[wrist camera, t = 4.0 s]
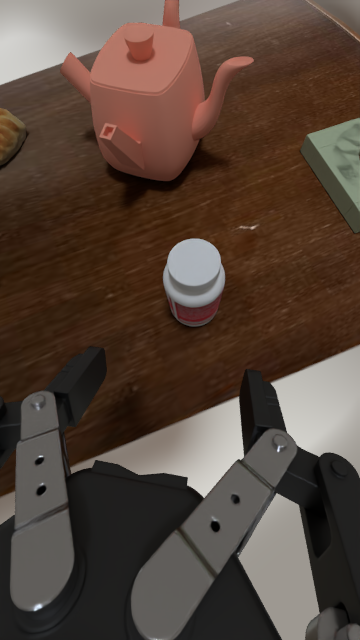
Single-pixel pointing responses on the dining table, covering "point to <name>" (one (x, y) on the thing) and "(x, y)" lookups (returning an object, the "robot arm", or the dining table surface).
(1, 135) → the pastry
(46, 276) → the dining table surface
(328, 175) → the socket pad
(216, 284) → the pill bottle
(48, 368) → the dining table surface
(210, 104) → the teapot
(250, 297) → the dining table surface
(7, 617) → the robot arm
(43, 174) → the dining table surface
